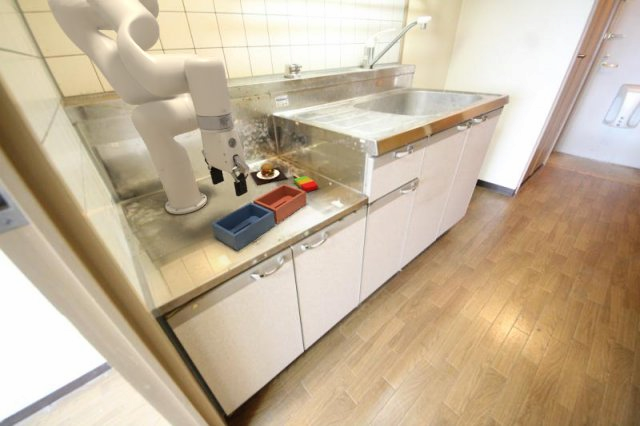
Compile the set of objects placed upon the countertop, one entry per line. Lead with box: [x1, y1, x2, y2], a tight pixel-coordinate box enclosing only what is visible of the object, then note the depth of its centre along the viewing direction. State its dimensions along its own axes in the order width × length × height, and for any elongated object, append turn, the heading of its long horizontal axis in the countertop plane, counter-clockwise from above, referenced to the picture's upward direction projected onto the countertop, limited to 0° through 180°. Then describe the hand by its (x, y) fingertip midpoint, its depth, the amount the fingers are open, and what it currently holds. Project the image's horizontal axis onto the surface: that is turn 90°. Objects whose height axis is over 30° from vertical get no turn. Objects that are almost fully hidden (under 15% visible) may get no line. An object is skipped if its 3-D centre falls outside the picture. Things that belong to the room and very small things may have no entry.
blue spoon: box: [230, 216, 260, 234], centre depth 71 cm, size 10×3×2 cm, turn 144°
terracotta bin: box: [252, 183, 307, 225], centre depth 80 cm, size 10×14×5 cm
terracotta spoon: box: [271, 196, 293, 208], centre depth 81 cm, size 10×3×2 cm, turn 144°
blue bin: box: [210, 201, 276, 252], centre depth 71 cm, size 10×14×5 cm
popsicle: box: [292, 173, 319, 193], centre depth 96 cm, size 6×15×2 cm, turn 31°
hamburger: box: [249, 162, 288, 186], centre depth 101 cm, size 12×12×6 cm
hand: (230, 188), depth 66 cm, fingers open, 9 cm apart
